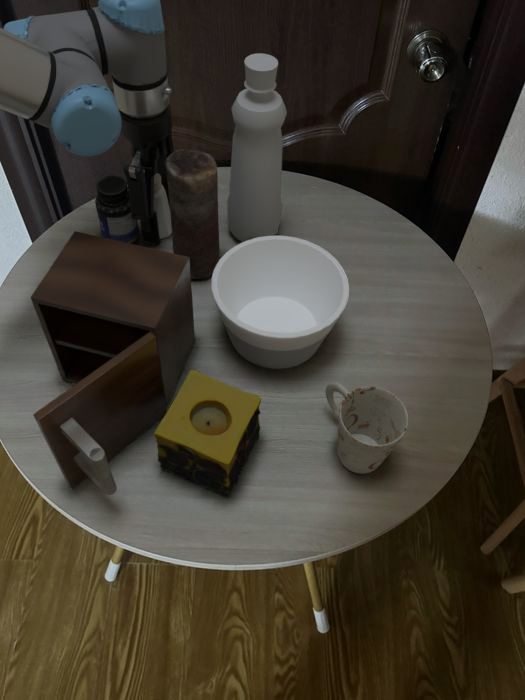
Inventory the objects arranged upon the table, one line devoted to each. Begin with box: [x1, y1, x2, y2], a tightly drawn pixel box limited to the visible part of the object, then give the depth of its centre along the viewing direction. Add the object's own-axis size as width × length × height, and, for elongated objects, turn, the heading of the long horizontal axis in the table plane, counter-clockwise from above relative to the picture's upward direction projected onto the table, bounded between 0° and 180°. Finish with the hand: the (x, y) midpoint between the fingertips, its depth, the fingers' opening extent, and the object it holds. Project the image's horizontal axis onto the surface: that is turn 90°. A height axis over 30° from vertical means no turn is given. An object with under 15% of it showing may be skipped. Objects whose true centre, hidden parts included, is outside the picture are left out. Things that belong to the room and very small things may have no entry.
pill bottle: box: [94, 174, 140, 245], centre depth 100 cm, size 6×6×11 cm
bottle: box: [226, 52, 288, 243], centre depth 95 cm, size 9×9×30 cm
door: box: [32, 332, 168, 496], centre depth 73 cm, size 7×16×17 cm, turn 136°
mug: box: [325, 381, 409, 475], centre depth 79 cm, size 8×13×10 cm, turn 36°
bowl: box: [210, 235, 350, 370], centre depth 89 cm, size 19×19×11 cm
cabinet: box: [30, 230, 196, 408], centre depth 82 cm, size 12×16×18 cm
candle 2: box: [153, 369, 262, 498], centre depth 77 cm, size 10×10×10 cm
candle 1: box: [166, 148, 221, 280], centre depth 93 cm, size 8×7×20 cm
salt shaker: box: [154, 173, 172, 240], centre depth 101 cm, size 5×5×11 cm
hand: (159, 228), depth 106 cm, fingers open, 6 cm apart
